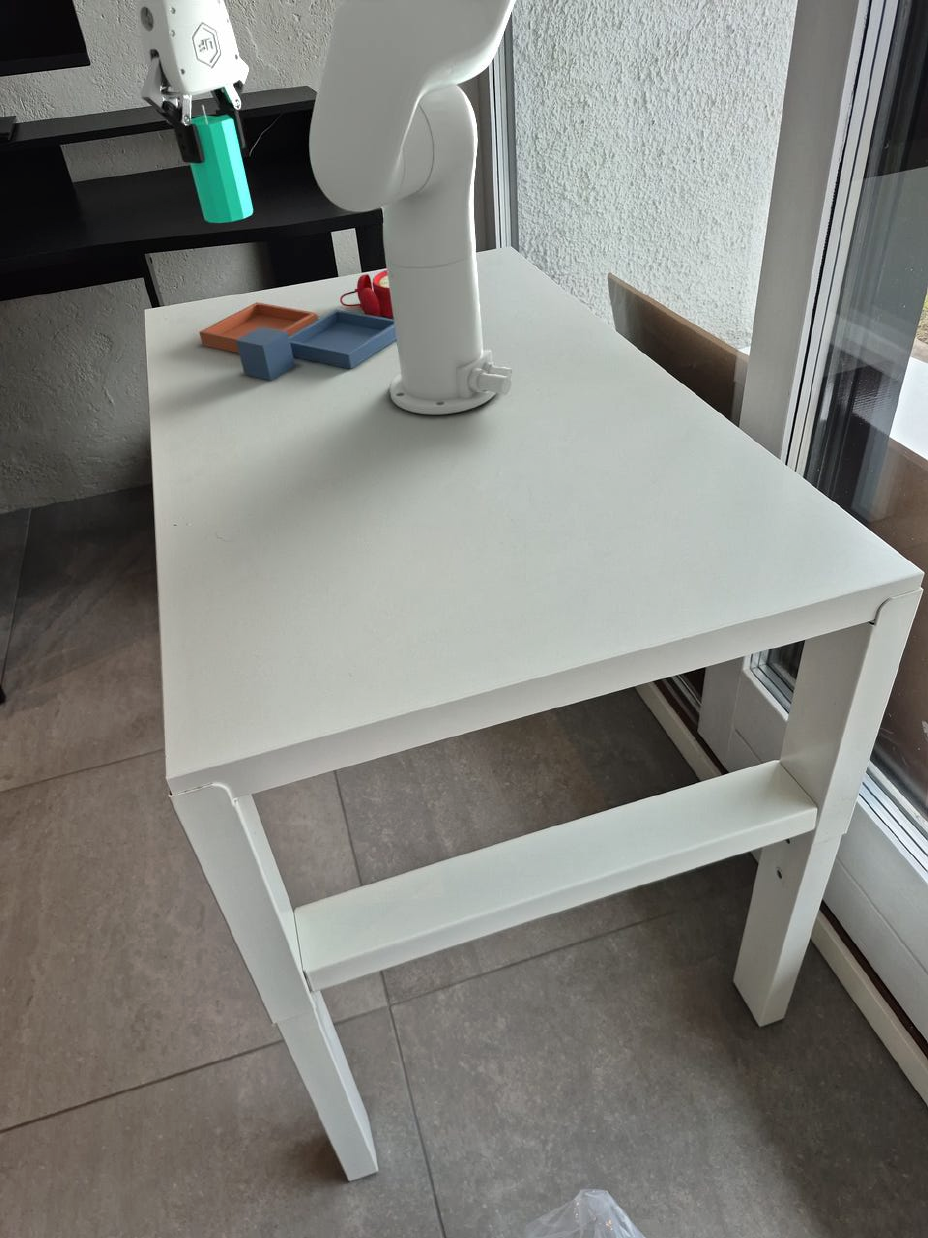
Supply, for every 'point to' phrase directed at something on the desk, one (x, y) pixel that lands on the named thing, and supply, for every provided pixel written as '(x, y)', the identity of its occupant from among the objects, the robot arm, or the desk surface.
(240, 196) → the candle
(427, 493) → the desk surface
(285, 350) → the blue block
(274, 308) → the terracotta tray
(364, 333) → the blue tray
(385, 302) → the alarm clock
